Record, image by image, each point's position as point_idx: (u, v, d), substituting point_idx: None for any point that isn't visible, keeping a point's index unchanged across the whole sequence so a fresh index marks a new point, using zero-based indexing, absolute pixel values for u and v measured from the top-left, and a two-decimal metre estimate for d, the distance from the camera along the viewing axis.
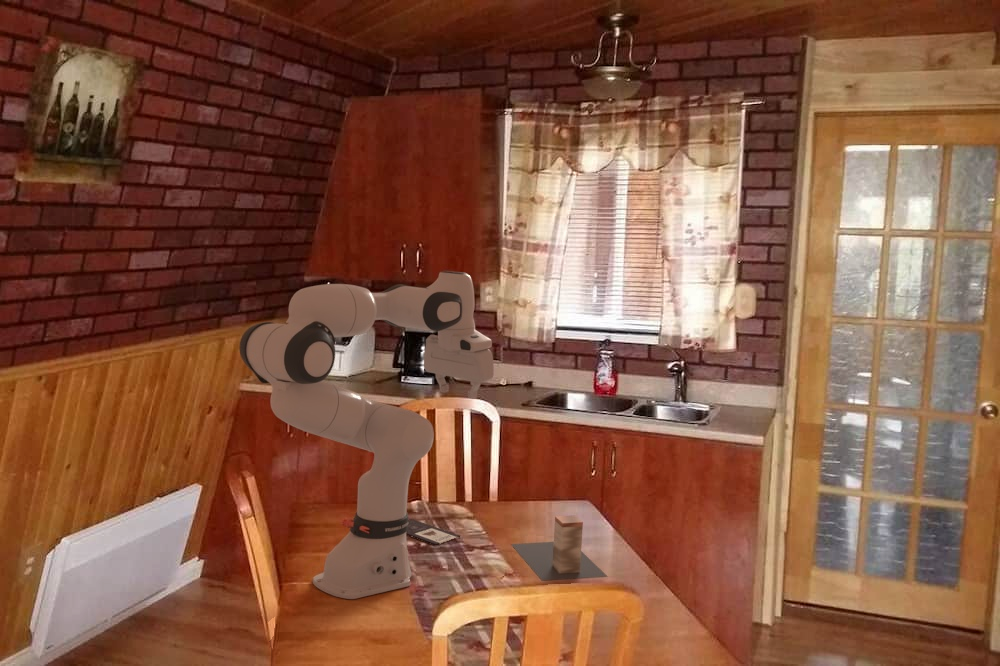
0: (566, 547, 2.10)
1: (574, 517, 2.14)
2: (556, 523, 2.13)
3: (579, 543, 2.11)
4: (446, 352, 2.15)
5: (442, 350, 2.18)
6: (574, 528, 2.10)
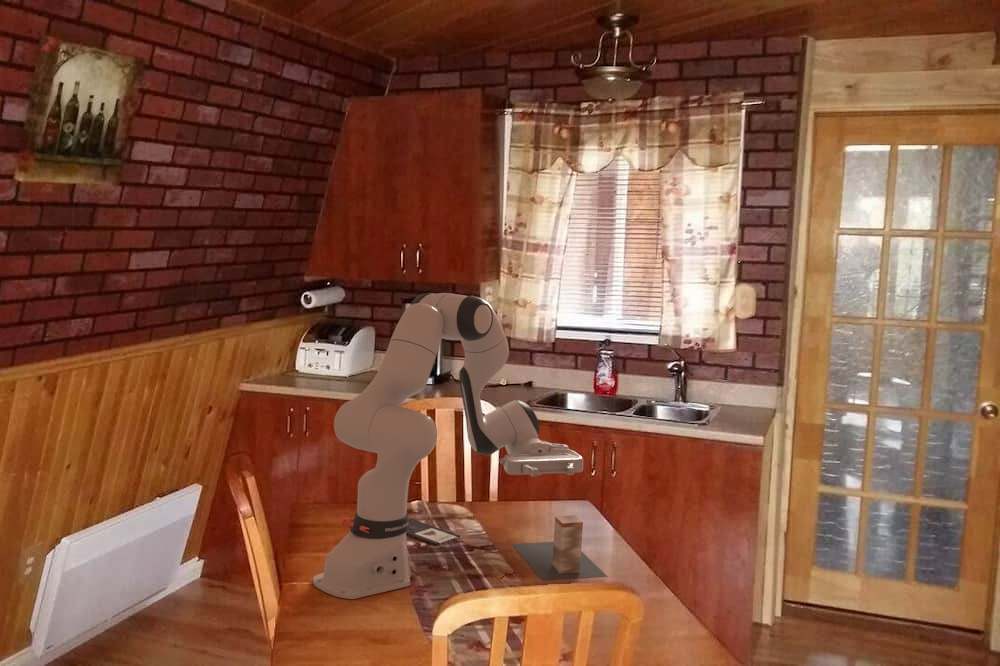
0: (566, 547, 2.10)
1: (574, 517, 2.14)
2: (556, 523, 2.13)
3: (579, 543, 2.11)
4: (537, 448, 2.33)
5: (527, 454, 2.32)
6: (574, 528, 2.10)
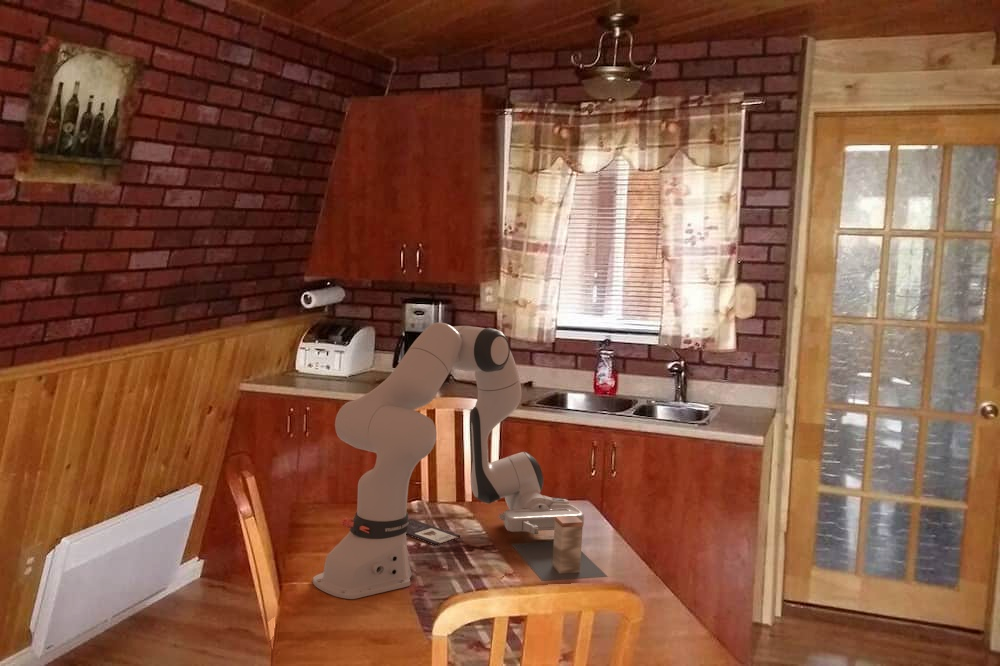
0: (566, 547, 2.10)
1: (574, 517, 2.14)
2: (556, 523, 2.13)
3: (579, 543, 2.11)
4: (538, 504, 2.31)
5: (528, 509, 2.31)
6: (574, 528, 2.10)
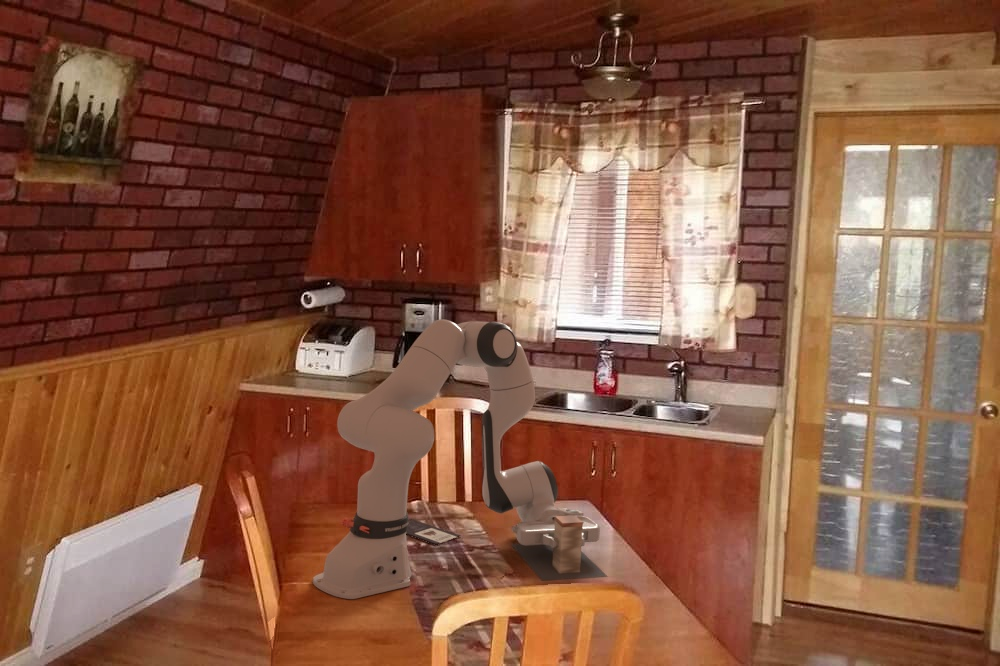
0: (566, 547, 2.10)
1: (574, 517, 2.14)
2: (556, 523, 2.13)
3: (579, 543, 2.11)
4: (551, 516, 2.22)
5: (541, 521, 2.21)
6: (574, 528, 2.10)
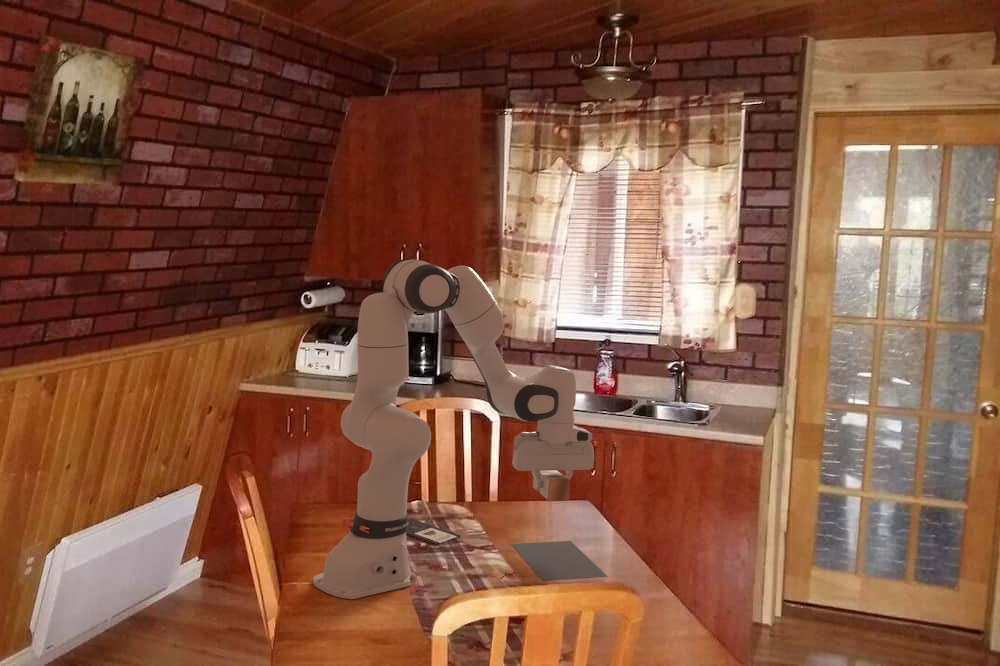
0: None
1: (566, 486, 2.18)
2: (548, 483, 2.18)
3: None
4: (556, 446, 2.19)
5: (544, 445, 2.19)
6: None
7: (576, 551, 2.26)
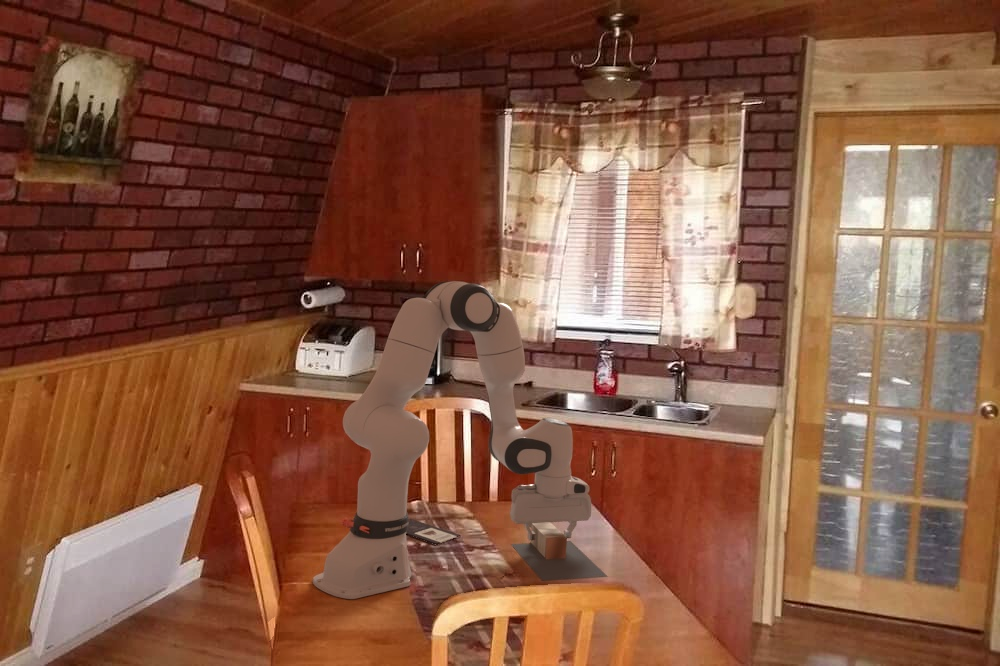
0: None
1: (563, 544, 2.20)
2: (545, 541, 2.20)
3: None
4: (554, 499, 2.20)
5: (542, 498, 2.21)
6: None
7: (576, 551, 2.26)
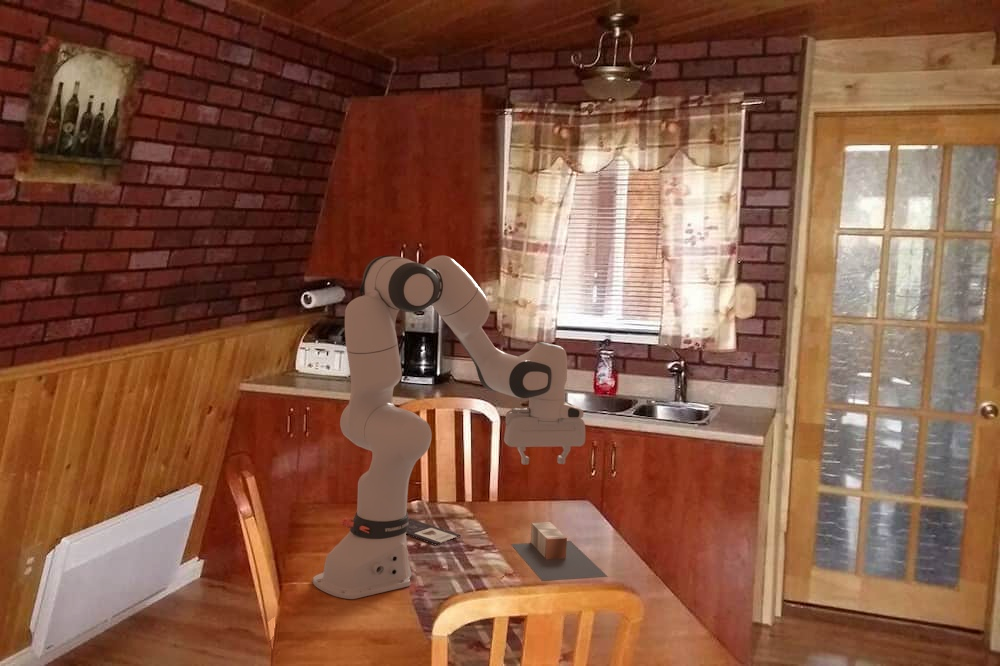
0: None
1: (563, 544, 2.20)
2: (545, 541, 2.20)
3: None
4: (548, 422, 2.21)
5: (536, 422, 2.21)
6: None
7: (576, 551, 2.26)
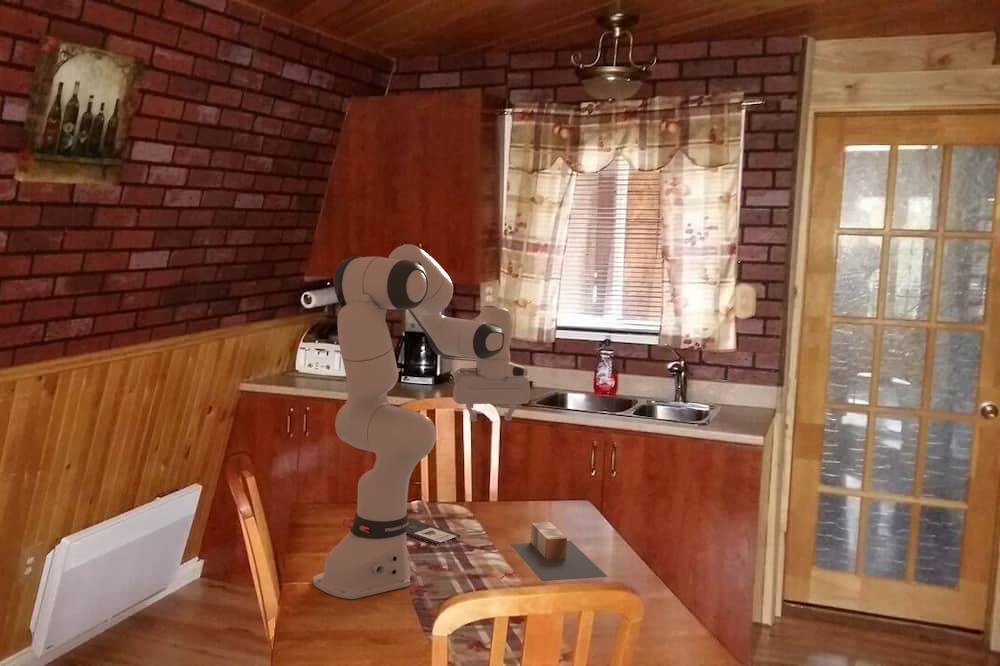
0: None
1: (563, 544, 2.20)
2: (545, 541, 2.20)
3: None
4: (493, 381, 2.34)
5: (482, 380, 2.34)
6: None
7: (576, 551, 2.26)
